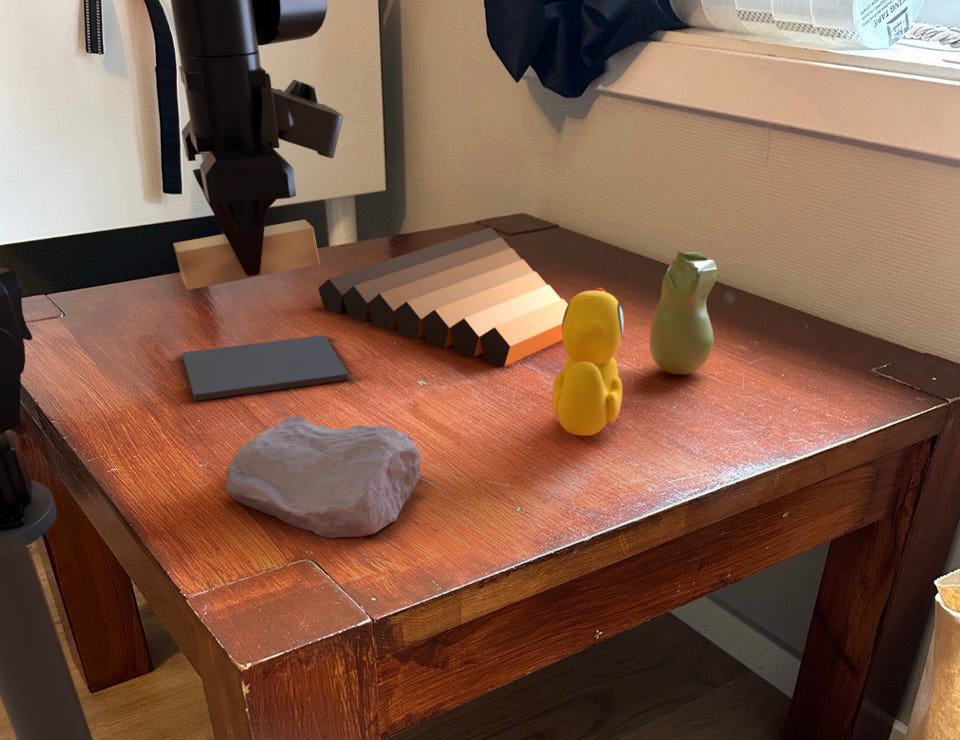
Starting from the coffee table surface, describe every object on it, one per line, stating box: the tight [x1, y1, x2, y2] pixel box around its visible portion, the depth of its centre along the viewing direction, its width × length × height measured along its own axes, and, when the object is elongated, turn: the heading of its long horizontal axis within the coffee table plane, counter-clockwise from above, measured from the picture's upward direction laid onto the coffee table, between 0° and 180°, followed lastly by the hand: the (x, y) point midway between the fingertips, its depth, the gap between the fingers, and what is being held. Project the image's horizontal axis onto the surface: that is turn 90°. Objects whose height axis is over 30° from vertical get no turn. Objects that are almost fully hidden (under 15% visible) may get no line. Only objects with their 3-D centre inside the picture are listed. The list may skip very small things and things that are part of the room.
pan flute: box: [317, 226, 569, 367], centre depth 99 cm, size 25×3×25 cm
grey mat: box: [182, 334, 350, 402], centre depth 85 cm, size 13×10×1 cm
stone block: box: [225, 415, 422, 539], centre depth 66 cm, size 12×5×10 cm
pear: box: [649, 251, 718, 375], centre depth 82 cm, size 6×5×10 cm
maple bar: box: [172, 219, 320, 291], centre depth 80 cm, size 11×3×3 cm, turn 112°
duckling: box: [552, 287, 625, 437], centre depth 73 cm, size 11×5×10 cm, turn 169°
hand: (250, 269), depth 80 cm, fingers closed on maple bar, 3 cm apart
